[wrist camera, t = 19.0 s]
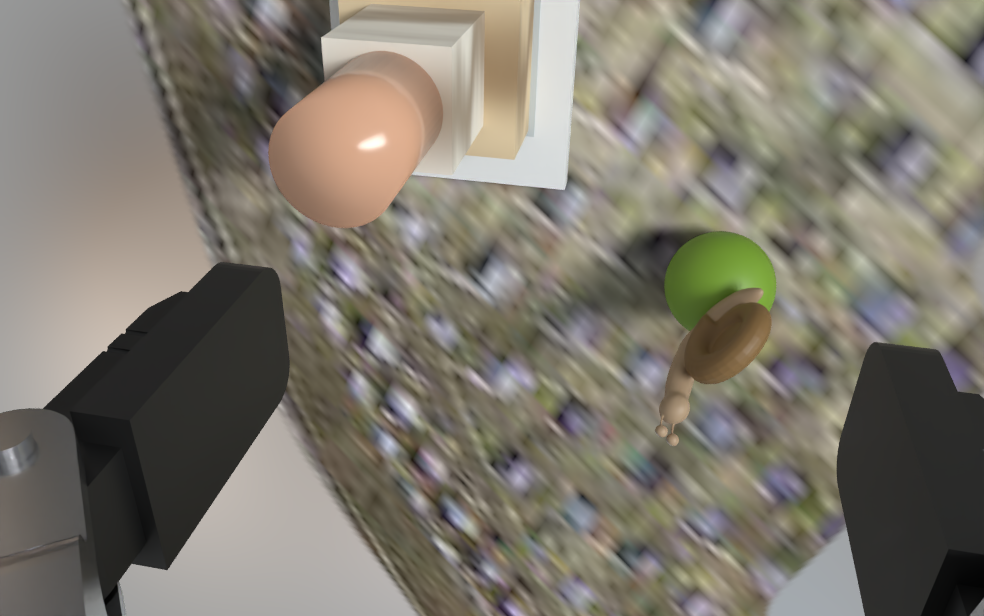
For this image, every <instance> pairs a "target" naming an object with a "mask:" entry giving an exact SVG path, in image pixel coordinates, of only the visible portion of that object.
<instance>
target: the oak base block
mask: <svg viewBox="0 0 984 616" xmlns="http://www.w3.org/2000/svg"><path fill="white" fill-rule="evenodd" d="M370 4H384V5H399V6H414V7H430V8H445V9H461V10H476V11H485V47H484V116H483V127H482V128H481V130H480V132H479V133H478V135H477V136H476V138H475V140H474V141H473V143H472V144H471V146H470V148H469V149H468V151H467V153H466V154H465V155H469V156H479V157H490V158H500V159H511V160H515V157H516V155H517V153H518V151H519V149H520V147H521V145H522V143H523V141H524V139H525V137H526V135H527V132H528V127H529V105H530V83H531V62H532V40H533V18H534V0H338V6H339V21H340V24H342V23H343V22H345V21H346V20H348V19H349V18H351V17H352V16H354V15H355V14H357V13H358V12H360V11H361V10H363V9H364V8H366V7H367V6H369V5H370Z"/></svg>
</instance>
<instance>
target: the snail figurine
mask: <svg viewBox="0 0 984 616" xmlns="http://www.w3.org/2000/svg"><path fill="white" fill-rule="evenodd" d="M664 290H665V297H666V301H667V304H668V306H669V308H670V310H671V312H672V314H673V315H674V317H675V318H676V319H677V321H678V322H679V323H680V324H681V325H682V326H684V327H685V328H686V329H687V330H689V331H690V332H689V333H688V334H687V335H686V336H685V338H684V339H683V341H682V342H681V344H680V346H679V348H678V351H677V353H676V355H675V357H674V359H673V362H672V365H671V367H670V370H669V373H668V377H667V381H666V387H665V396H664V398H663V400H662V402H661V404H660V407H659V412H660V416H661V421H660V425H659V426H657V427H656V429H655V432H656V434H657V435H658V436H659V437H665V436H666V435H667V433H668V430H667V428H666V427H665V426H664V425H662V420H664V421H665V422H667V423H669V424H672V430H671V434H669V435H668V436H667V438H666V440H667V443H668V444H669V445H671V446H676V445H677V444H678V442H679V438H678V436H677V435H675V434H673V429H674V425H675V424H677V423H680V422H682V421H683V420H684V419H685V418H686V417H687V415H688V413H689V410H690V404H689V401H688V398H689V395H690V392H691V389H692V386H693V382H694V380H696V381H698V382H700V383H704V384H717V383H720V382H723V381H726V380H728V379H729V378H731V377H733V376H735V375H736V374H738V373H739V372H741V371H742V370H743V369H744V368H745V367H747V366H748V365H749V364H750V363H751V362H752V361H753V360H754V358H755V357H756V356H757V355H758V354H759V352H760V351H761V349H762V348H763V346H764V345H765V343H766V341H767V339H768V336H769V333H770V330H771V316H770V313H769V311H770V309H771V307H772V304H773V301H774V298H775V293H776V277H775V272H774V269H773V266H772V264H771V262H770V260H769V258H768V256H767V255H766V254H765V252H764V251H763V250H762V249H761V248H760V247H759V246H758V245H757V244H756V243H754V242H753V241H751V240H750V239H748V238H746V237H744V236H742V235H739V234H736V233H731V232H722V231H719V232H710V233H706V234H702V235H699V236H697V237H695V238H693V239H691V240H690V241H688V242H687V243H685V244H684V245H683V246H682V247H681V248H680V249H679V250H678V251H677V252H676V253H675V255H674V256H673V258H672V259H671V261H670V263H669V265H668V268H667V271H666V275H665V282H664Z"/></svg>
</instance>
